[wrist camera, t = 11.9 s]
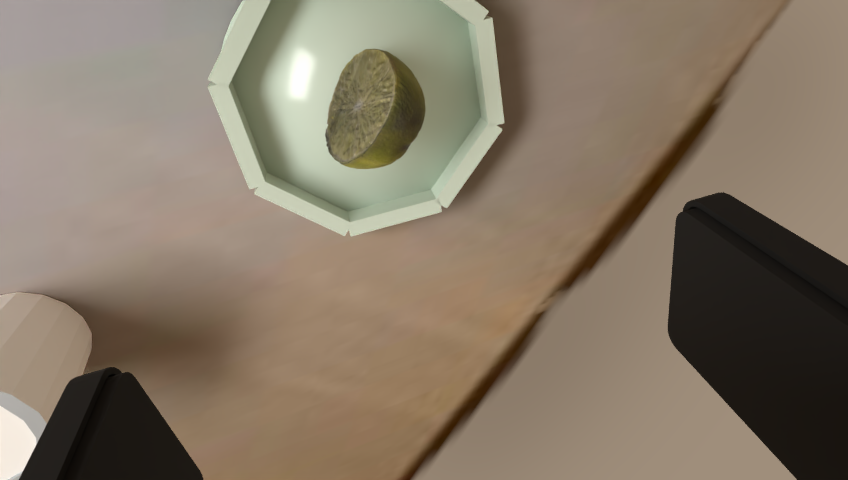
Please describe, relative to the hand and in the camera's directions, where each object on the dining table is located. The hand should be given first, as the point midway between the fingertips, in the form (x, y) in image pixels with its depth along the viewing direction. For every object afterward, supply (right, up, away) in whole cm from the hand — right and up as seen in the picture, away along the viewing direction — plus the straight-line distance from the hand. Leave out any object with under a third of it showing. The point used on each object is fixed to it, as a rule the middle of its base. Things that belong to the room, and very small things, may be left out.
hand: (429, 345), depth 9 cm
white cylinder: (-21, -3, +19) cm, 28 cm away
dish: (-3, +9, +16) cm, 18 cm away
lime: (-3, +9, +16) cm, 18 cm away
